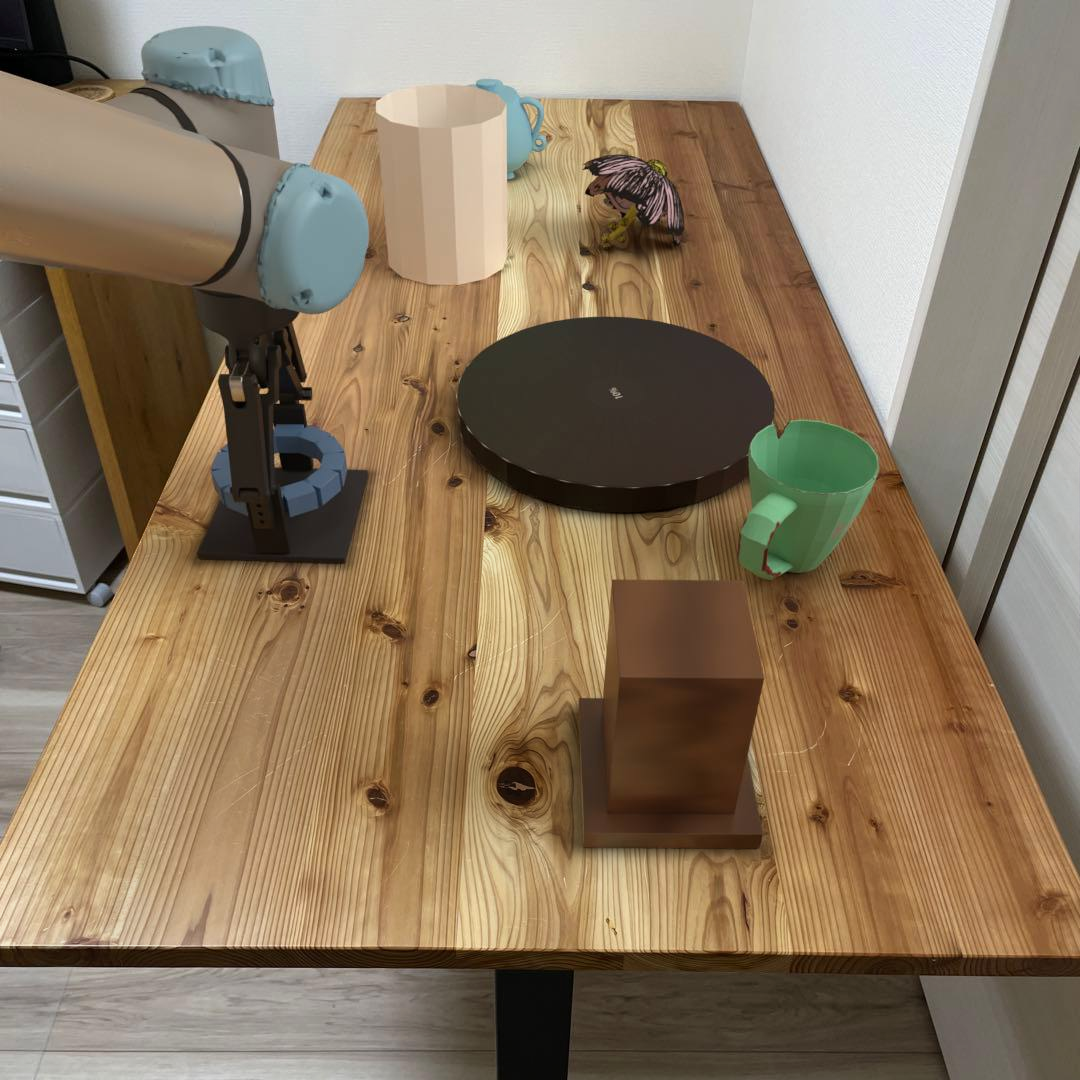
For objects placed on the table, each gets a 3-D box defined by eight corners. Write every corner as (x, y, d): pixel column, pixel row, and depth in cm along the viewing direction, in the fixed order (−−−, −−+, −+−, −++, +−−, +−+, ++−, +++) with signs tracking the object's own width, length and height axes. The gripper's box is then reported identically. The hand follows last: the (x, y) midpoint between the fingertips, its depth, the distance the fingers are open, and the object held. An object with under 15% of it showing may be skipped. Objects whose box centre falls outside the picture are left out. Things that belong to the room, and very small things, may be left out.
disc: (407, 383, 107) (405, 357, 106) (655, 315, 119) (657, 290, 117) (556, 556, 88) (557, 528, 86) (836, 454, 99) (842, 427, 97)
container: (413, 294, 122) (402, 135, 110) (370, 245, 132) (355, 94, 120) (527, 270, 127) (527, 115, 116) (477, 224, 137) (473, 77, 125)
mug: (765, 501, 93) (783, 405, 87) (871, 544, 89) (899, 446, 83) (682, 595, 84) (695, 494, 78) (797, 647, 80) (821, 546, 74)
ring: (202, 517, 85) (198, 499, 84) (231, 440, 93) (228, 423, 92) (336, 518, 85) (333, 501, 84) (353, 441, 93) (351, 424, 92)
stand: (583, 847, 67) (593, 697, 58) (578, 711, 75) (586, 562, 66) (759, 848, 67) (796, 699, 58) (734, 713, 75) (764, 563, 66)
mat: (345, 563, 87) (344, 558, 86) (198, 559, 87) (196, 553, 86) (368, 475, 96) (367, 469, 95) (235, 471, 96) (234, 465, 96)
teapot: (541, 196, 144) (542, 106, 136) (419, 191, 145) (413, 101, 137) (551, 142, 159) (552, 59, 152) (440, 138, 160) (436, 55, 152)
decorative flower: (724, 181, 123) (603, 144, 120) (692, 279, 128) (573, 246, 124) (692, 169, 137) (581, 135, 133) (663, 259, 141) (555, 228, 137)
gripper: (263, 348, 68) (308, 600, 82) (319, 200, 85) (348, 430, 100) (144, 347, 68) (210, 600, 82) (225, 200, 85) (268, 429, 100)
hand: (286, 507), depth 91 cm, fingers closed on ring, 10 cm apart
